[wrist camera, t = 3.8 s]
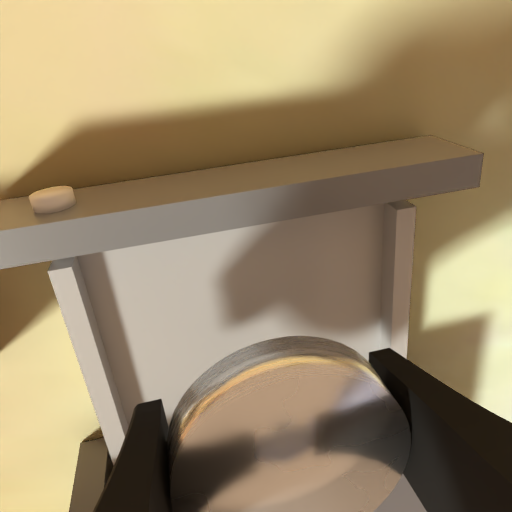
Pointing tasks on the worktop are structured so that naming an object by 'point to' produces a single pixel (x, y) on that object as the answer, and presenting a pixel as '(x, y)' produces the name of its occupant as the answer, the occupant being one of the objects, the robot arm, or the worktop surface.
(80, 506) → the box
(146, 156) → the worktop surface
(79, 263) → the tray
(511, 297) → the worktop surface
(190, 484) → the disc
